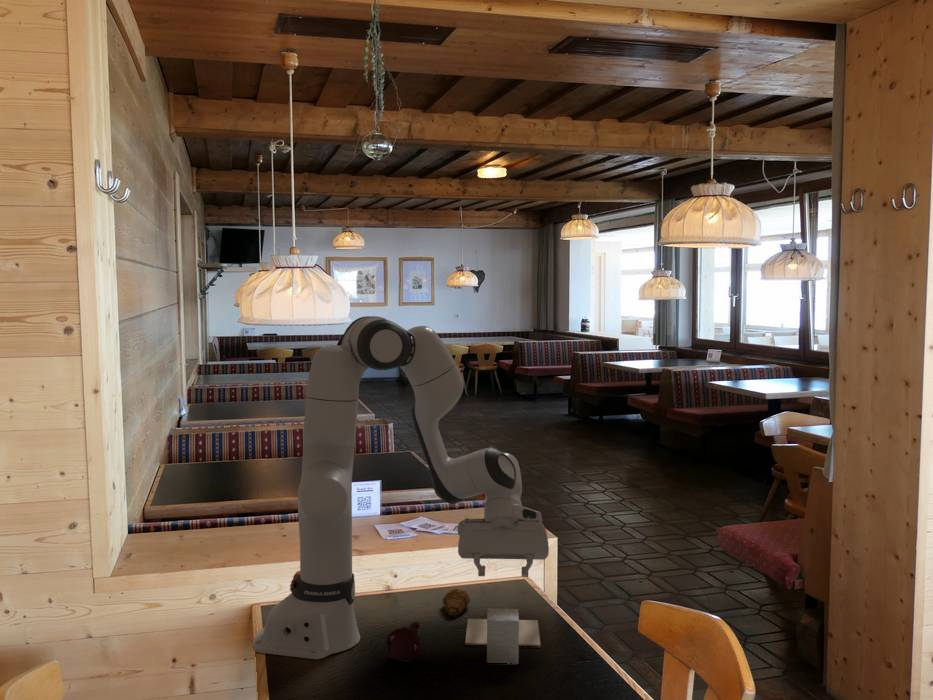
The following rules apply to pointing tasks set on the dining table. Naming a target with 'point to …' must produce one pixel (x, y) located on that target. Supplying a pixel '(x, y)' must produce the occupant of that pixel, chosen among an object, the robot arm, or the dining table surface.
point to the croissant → (455, 602)
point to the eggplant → (404, 643)
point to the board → (478, 632)
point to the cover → (502, 636)
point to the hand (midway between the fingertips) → (503, 575)
